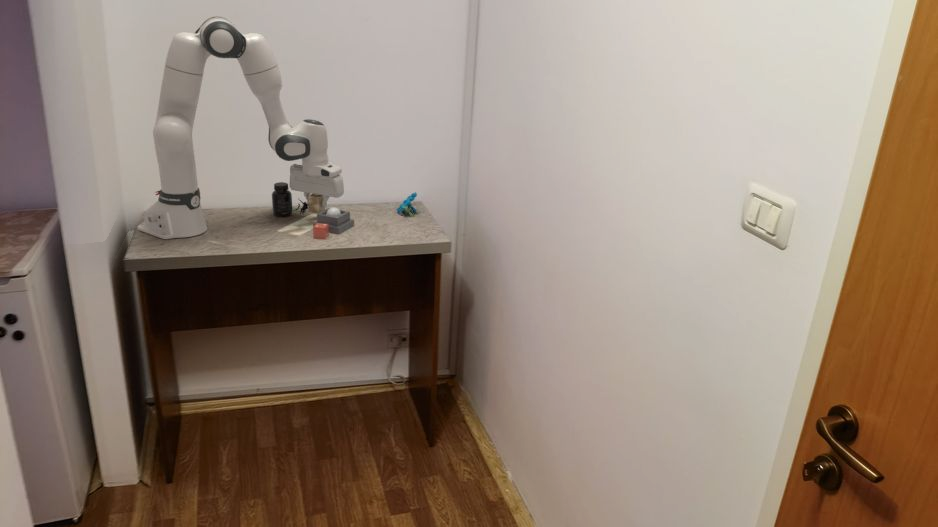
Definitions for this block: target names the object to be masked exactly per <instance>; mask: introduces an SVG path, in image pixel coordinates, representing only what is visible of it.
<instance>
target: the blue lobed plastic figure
mask: <svg viewBox="0 0 938 527" xmlns="http://www.w3.org/2000/svg"><path fill="white" fill-rule="evenodd" d="M417 196H418V193H417V192H416V191H415V192H413V193H411V195H408V196H407V198H406V199H404V200H403V201H402V203H401V204H399V207H398V208H396V212H397V213H402V212H403V210H404V212H405V213H408V215H410V216H411V217H413V216H414V215H413V213H412V212H411V211H413V212H414V213H416V214H417V211H418V210H417V209H416V208H415V207H414V206H413V205H412V203H411V202H413V201H415V199H416V197H417ZM410 210H411V211H410Z"/></svg>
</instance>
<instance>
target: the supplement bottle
mask: <svg viewBox="0 0 938 527" xmlns="http://www.w3.org/2000/svg"><path fill="white" fill-rule="evenodd" d="M289 188H290V187H289V184H288V182H284V181H282V182H280V181H279V182H276V183H274V184H273V190H274V191H272V193H271V202H272V215H273V216H274V217H276V218H288V217H291V216H293V214H294V213H293V212H294V210H293V197H292V196H293V195H292V192H291V191H290V190H289Z"/></svg>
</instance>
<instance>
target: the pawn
mask: <svg viewBox="0 0 938 527" xmlns="http://www.w3.org/2000/svg"><path fill="white" fill-rule="evenodd" d="M323 200H324V198H323V195H317V194H312V193H311V194H309V207H308V208H309V210H308V212H309V213H311V214H319V213H321V212H323V211H325V210H326V207H325V208H324V207H321V206H320V205H321V204H320V202H322V201H323Z"/></svg>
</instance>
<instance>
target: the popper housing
mask: <svg viewBox="0 0 938 527" xmlns="http://www.w3.org/2000/svg"><path fill="white" fill-rule="evenodd" d="M330 208H331V207H328V208H327V209H325V211H323V212H321V213H319V214H318V213H316V215H317V221H316V222H314V223H313V227H314V226H315V225H316V223H322V224H329V234H335V235H340V234H342V233H344V232H346V231H347V230H349V229H351V228H353V227H354V226H355V219H353V218H351V211H350V210H349V211H348V210H344V209H339V210H340V212H341V215H339V216H337V217H334V216H329V215H326V214H327V211H328V210H329V209H330Z"/></svg>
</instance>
